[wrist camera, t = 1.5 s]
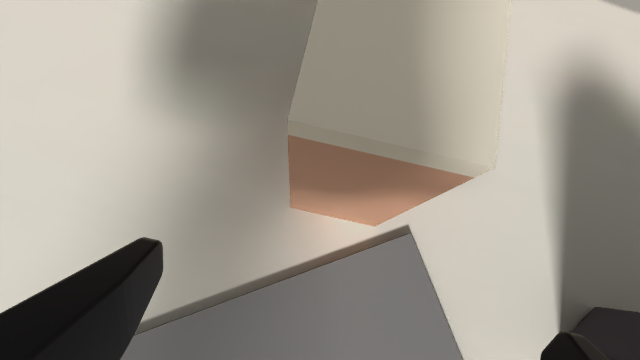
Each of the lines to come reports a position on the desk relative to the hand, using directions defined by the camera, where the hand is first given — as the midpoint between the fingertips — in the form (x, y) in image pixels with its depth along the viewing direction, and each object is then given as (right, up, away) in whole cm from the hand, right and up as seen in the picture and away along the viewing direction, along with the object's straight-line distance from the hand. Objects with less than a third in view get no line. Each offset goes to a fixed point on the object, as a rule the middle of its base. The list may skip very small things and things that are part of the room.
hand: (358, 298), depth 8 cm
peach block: (0, +3, +14) cm, 14 cm away
